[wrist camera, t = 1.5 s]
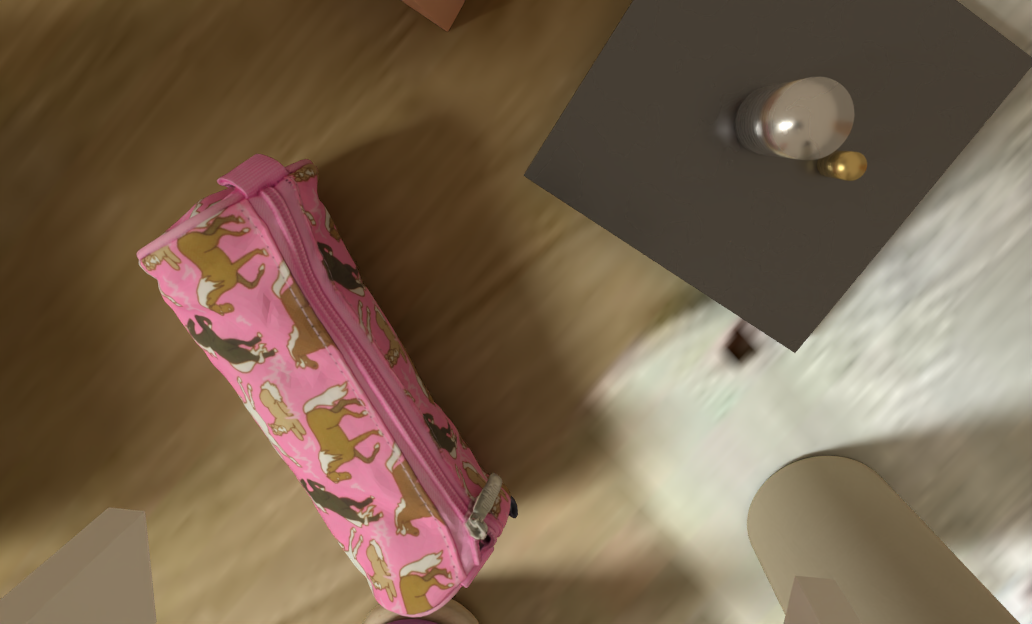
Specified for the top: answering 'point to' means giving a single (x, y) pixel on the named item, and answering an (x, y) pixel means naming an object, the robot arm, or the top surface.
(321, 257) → the pencil case
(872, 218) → the post plate
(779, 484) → the travel mug
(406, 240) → the top surface
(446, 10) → the hollow square tube
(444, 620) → the stacking toy
